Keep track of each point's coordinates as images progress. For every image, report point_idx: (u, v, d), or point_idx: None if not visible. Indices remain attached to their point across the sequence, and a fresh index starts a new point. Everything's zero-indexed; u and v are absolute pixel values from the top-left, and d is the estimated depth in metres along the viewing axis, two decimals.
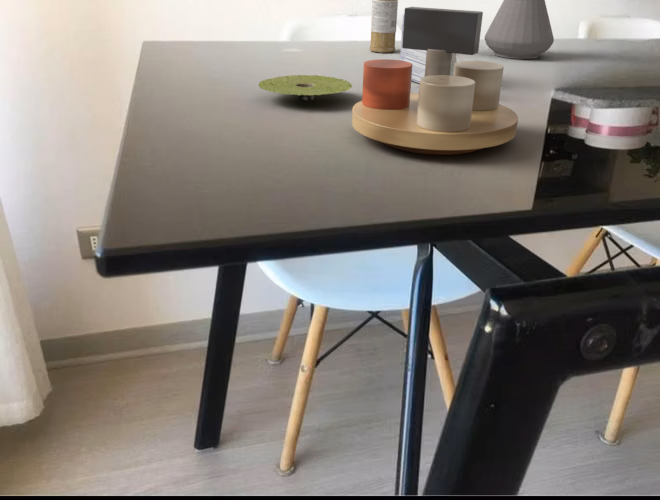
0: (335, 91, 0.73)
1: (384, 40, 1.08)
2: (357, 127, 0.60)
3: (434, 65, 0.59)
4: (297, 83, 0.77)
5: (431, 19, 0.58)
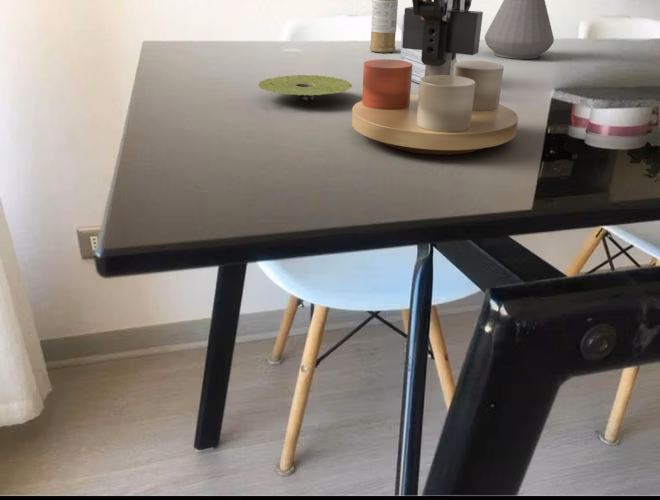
0: (335, 91, 0.73)
1: (384, 40, 1.08)
2: (357, 127, 0.60)
3: None
4: (297, 83, 0.77)
5: None
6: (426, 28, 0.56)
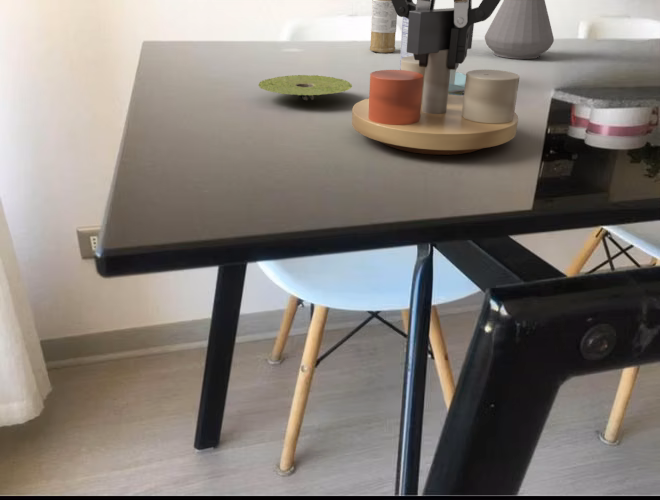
0: (335, 91, 0.73)
1: (384, 40, 1.08)
2: (437, 145, 0.55)
3: None
4: (297, 83, 0.77)
5: (442, 20, 0.57)
6: (467, 33, 0.57)
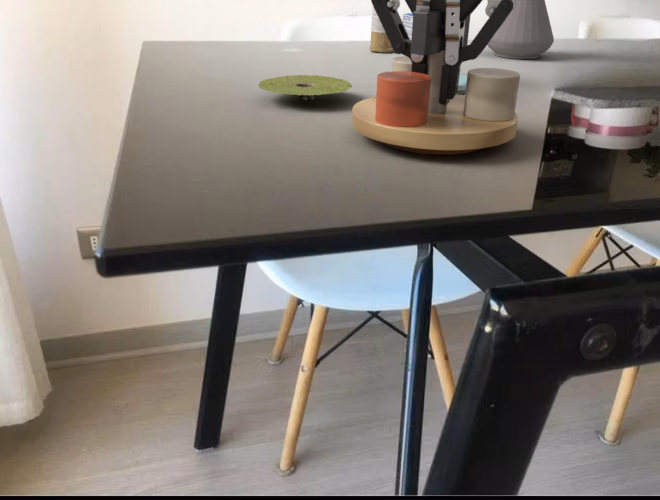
0: (335, 91, 0.73)
1: (384, 40, 1.08)
2: (453, 145, 0.55)
3: None
4: (297, 83, 0.77)
5: (444, 20, 0.57)
6: (457, 70, 0.59)
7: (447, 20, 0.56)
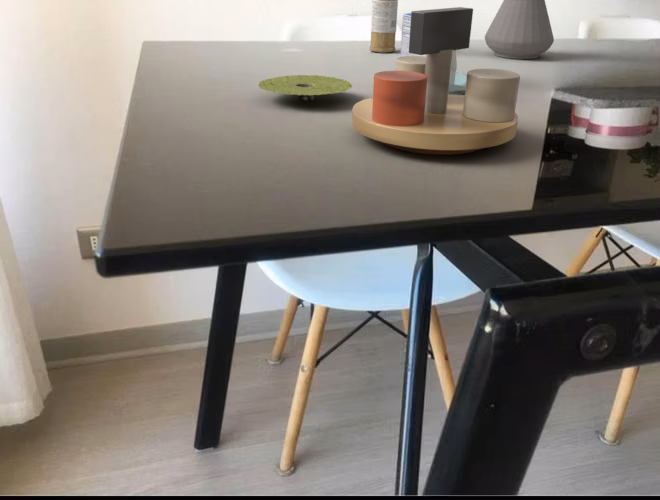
0: (335, 91, 0.73)
1: (384, 40, 1.08)
2: (446, 145, 0.55)
3: (448, 65, 0.59)
4: (297, 83, 0.77)
5: (443, 20, 0.57)
6: None
7: None
